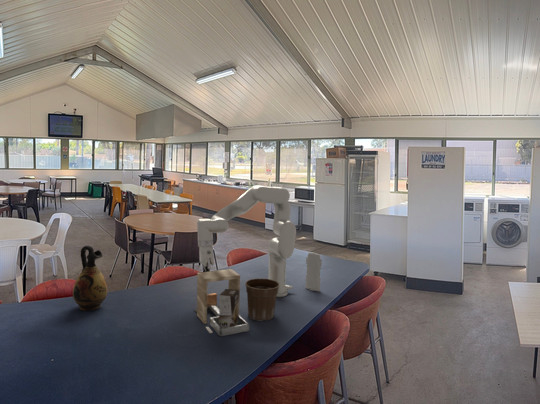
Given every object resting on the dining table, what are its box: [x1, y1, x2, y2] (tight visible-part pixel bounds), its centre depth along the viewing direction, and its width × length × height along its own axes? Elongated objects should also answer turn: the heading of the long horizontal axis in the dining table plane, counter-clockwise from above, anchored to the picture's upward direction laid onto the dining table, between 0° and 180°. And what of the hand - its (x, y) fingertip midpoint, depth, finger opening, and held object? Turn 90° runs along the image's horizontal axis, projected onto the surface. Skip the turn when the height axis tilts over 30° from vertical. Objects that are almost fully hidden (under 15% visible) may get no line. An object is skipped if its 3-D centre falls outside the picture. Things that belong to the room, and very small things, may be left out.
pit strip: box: [193, 305, 219, 313], centre depth 188 cm, size 16×3×1 cm, turn 118°
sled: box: [207, 293, 250, 337], centre depth 175 cm, size 13×33×6 cm, turn 28°
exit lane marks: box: [205, 326, 213, 334], centre depth 167 cm, size 18×6×1 cm, turn 118°
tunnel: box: [196, 268, 241, 325], centre depth 177 cm, size 17×11×20 cm, turn 118°
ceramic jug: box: [72, 244, 108, 312], centre depth 184 cm, size 17×15×30 cm
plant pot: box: [244, 277, 280, 322], centre depth 179 cm, size 16×16×16 cm
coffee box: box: [218, 288, 239, 328], centre depth 166 cm, size 9×6×16 cm
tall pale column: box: [305, 252, 323, 292], centre depth 221 cm, size 11×4×22 cm, turn 51°
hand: (206, 277), depth 196 cm, fingers closed
